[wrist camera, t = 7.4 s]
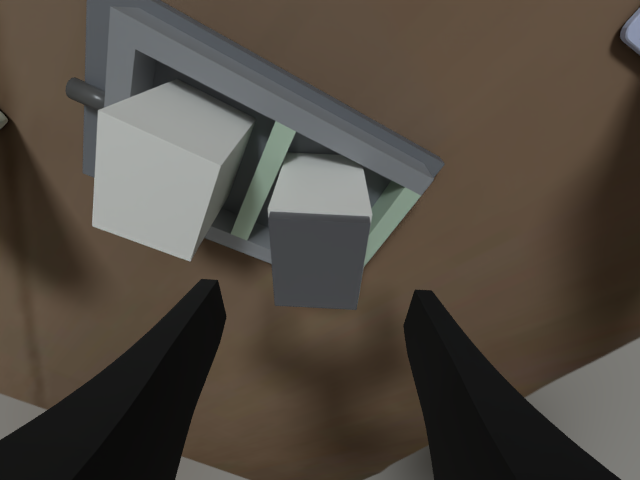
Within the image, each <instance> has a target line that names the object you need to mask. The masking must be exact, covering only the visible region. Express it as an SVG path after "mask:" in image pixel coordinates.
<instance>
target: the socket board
mask: <svg viewBox="0 0 640 480" xmlns="http://www.w3.org/2000/svg"><path fill="white" fill-rule="evenodd" d="M66 94H67V96H68V97H69V98H70V99H73V100H75V101H77V102H79V103H82V104H84V141H83V173H84V174H86V175H89V176H91V177H94V178H95V179H94V199H93V219H92V226H93V227H96V228H99V229H102V230H104V231H107V232H110V233H113V234H115V235H118V236H121V237H124V238H127V239H129V240H132V241H135V242H138V243H140V244H143V245H146V246H149V247H151V248H154V249H157V250H160V251H162V252H165V253H168V254H171V255H173V256H176V257H179V258H182V259H184V260H187V261H191V259H192V258H193V256H194V254H195V253H196V251H197V249H198V247H199V246H200V244H201V242H202V241H203V239H204V238H206V239H208V240H211V241H214V242H216V243H219V244H221V245H224V246H226V247H229V248H232V249H234V250H237V251H239V252H242V253H245V254H247V255H250V256H252V257H255V258H258V259H260V260H263V261H265V262H268V263H271V264H272V262H271V249H270V236H269V223H268V206H269V203H270V201H271V198H272V195H273V192H274V189H275V186H276V183H277V180H278V177H279V174H280V171H281V168H282V165H283V162H284V159H285V156H286V153H287V152H292V153H312V154H332V155H343V156H345V157H347V158H349V159H351V160H353V161H355V162H357V163H359V164H361V165H363V170H364V175H365V180H366V185H367V190H368V195H369V200H370V205H371V210H372V220H371V226H370V232H369V238H368V244H367V250H366V256H365V262H364V266H365V265H366V264H367V263H368V261H369V260H370V259H371V258H372V256H373V255H374V254H375V253H376V251H377V250H378V249H379V248H380V246H381V245H382V244H383V243H384V241H385V240H386V239H387V238H388V236H389V235H390V234H391V233H392V231H393V230H394V229H395V228H396V226H397V225H398V224H399V223H400V221H401V220H402V219H403V218H404V216H405V215H406V214H407V213H408V211H409V210H410V209H411V208H412V206H413V205H414V204H415V203H416V201H417V200H418V199H419V198H420V196H421V195H422V194H423V193H424V191H425V190H426V189H427V188H428V186H429V185H430V184H431V183H432V181H433V180H434V179H433V178H434V177H435V176H436V174H437V173H438V172H439V171H440V169H441V168H442V167H443V166H444V162H443V161H442V160H441V158H440V157H439V156H437V155H435V154H433V153H431V152H430V151H428V150H426V149H424V148H422V147H421V146H419V145H417V144H415V143H414V142H412V141H410V140H408V139H406V138H405V137H403V136H401V135H399V134H398V133H396V132H394V131H392V130H390V129H389V128H387V127H385V126H383V125H381V124H380V123H378V122H376V121H374V120H373V119H371V118H369V117H367V116H365V115H364V114H362V113H360V112H358V111H357V110H355V109H353V108H351V107H349V106H348V105H346V104H344V103H342V102H340V101H339V100H337V99H335V98H333V97H332V96H330V95H328V94H326V93H324V92H323V91H321V90H319V89H317V88H315V87H314V86H312V85H310V84H308V83H307V82H305V81H303V80H301V79H299V78H298V77H296V76H294V75H292V74H291V73H289V72H287V71H285V70H283V69H282V68H280V67H278V66H276V65H274V64H273V63H271V62H269V61H267V60H266V59H264V58H262V57H260V56H258V55H257V54H255V53H253V52H251V51H250V50H248V49H246V48H244V47H242V46H241V45H239V44H237V43H235V42H233V41H232V40H230V39H228V38H226V37H225V36H223V35H221V34H219V33H217V32H216V31H214V30H212V29H210V28H209V27H207V26H205V25H203V24H201V23H200V22H198V21H196V20H194V19H192V18H191V17H189V16H187V15H185V14H184V13H182V12H180V11H178V10H176V9H175V8H173V7H171V6H169V5H168V4H166V3H164V2H162V1H160V0H87V16H86V58H85V82H84V81H82V80H80V79H78V78H75V77H74V78H71V79H70V80H69V81H68V83H67V85H66Z"/></svg>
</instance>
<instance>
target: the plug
mask: <svg viewBox="0 0 640 480" xmlns="http://www.w3.org/2000/svg"><path fill="white" fill-rule="evenodd" d="M371 220H372V210H371V205H370V200H369V195H368V190H367V185H366V180H365V175H364V170H363V165H361V164H359V163H357V162H355V161H353V160H351V159H349V158H347V157H345V156H343V155H332V154H312V153H292V152H287V153H286V156H285V159H284V162H283V165H282V168H281V171H280V174H279V177H278V180H277V183H276V186H275V189H274V192H273V195H272V198H271V201H270V203H269V206H268V223H269V236H270V249H271V262H272V275H273V288H274V301H275V306H293V307H313V308H332V309H351V310H356V309H357V303H358V298H359V292H360V286H361V280H362V274H363V268H364V262H365V256H366V250H367V244H368V238H369V232H370V226H371Z"/></svg>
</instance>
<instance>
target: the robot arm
mask: <svg viewBox="0 0 640 480" xmlns="http://www.w3.org/2000/svg"><path fill="white" fill-rule="evenodd" d="M620 38H621V40H622V41H623V42H624V43H625V44H627V45H628V46H629V47H630V48H631V49H633V50H634V51H635V52H636V53H637V54H639V55H640V8H639V9H638V10H637V11H636V12H635V13H634V14H633V15H632V16H631V18H630V19H629V20H628V21H627V22H626V23H625V25H624V26H623V27H622V30H621V32H620ZM225 320H226V313H225V308H224V304H223V300H222V295H221V291H220V287H219V283H218V280H208V279H201V280H200V281H199V282H198V283H197V284H196V285H195V286H194V287H193V288H192V289H191V290H190V291H189V292H188V293H187V294H186V295H185V296H184V297H183V298H182V299H181V300H180V301H179V302H178V303H177V304H176V305H175V306H174V307H173V308H172V309H171V310H170V311H169V312H168V313H167V314H166V315H165V316H164V317H163V318H162V319H161V320H160V321H159V322H158V323H157V324H156V325H155V326H154V327H153V328H152V329H151V330H150V331H149V332H147V333H146V334H145V335H144V336H143V337H142V338H141V339H140V340H139V341H137V342H136V343H135V344H134V345H133V346H132V347H131V348H130V349H128V350H127V351H126V352H125V353H124V354H122V355H121V356H120V357H119V358H118V359H116V360H115V361H114V362H113V363H112V364H110V365H109V366H108V367H106V368H105V369H104V370H103V371H101V372H100V373H99V374H98V375H96V376H95V377H94V378H92V379H91V380H90V381H88V382H87V383H85V384H84V385H83V386H81V387H80V388H79V389H77V390H76V391H74V392H73V393H71V394H70V395H69V396H67V397H66V398H64V399H63V400H62V401H60V402H59V403H57V404H56V405H54V406H53V407H51V408H50V409H48V410H47V411H45V412H44V413H42V414H41V415H39V416H38V417H36V418H35V419H33V420H32V421H30V422H28V423H27V424H25V425H24V426H22V427H20V428H19V429H17V430H16V431H14V432H13V433H11V434H9V435H8V436H6V437H4V438H3V439H1V440H0V480H175V478H176V474H177V470H178V466H179V463H180V458H181V455H182V451H183V448H184V444H185V440H186V437H187V433H188V430H189V426H190V423H191V419H192V416H193V413H194V410H195V407H196V404H197V401H198V399H199V396H200V393H201V391H202V388H203V386H204V383H205V381H206V378H207V375H208V373H209V370H210V368H211V365H212V362H213V360H214V357H215V354H216V352H217V349H218V346H219V344H220V340H221V337H222V333H223V329H224V325H225ZM404 333H405V341H406V348H407V354H408V358H409V362H410V366H411V370H412V374H413V377H414V381H415V385H416V389H417V393H418V397H419V400H420V404H421V408H422V412H423V416H424V421H425V425H426V430H427V436H428V442H429V448H430V454H431V460H432V467H433V474H434V480H621V479H620V478H618V477H617V476H616V475H614V474H613V473H612V472H610V471H609V470H608V469H607V468H605V467H604V466H603V465H602V464H600V463H599V462H598V461H597V460H595V459H594V458H593V457H592V456H590V455H589V454H588V453H587V452H585V451H584V450H583V449H582V448H580V447H579V446H578V445H577V444H576V443H574V442H573V441H572V440H571V439H570V438H568V437H567V436H566V435H565V434H564V433H563V432H561V431H560V430H559V429H558V428H557V427H556V426H555V425H553V424H552V423H551V422H550V421H549V420H548V419H547V418H545V417H544V416H543V415H542V414H541V413H540V412H539V411H538V410H536V409H535V408H534V407H533V406H532V405H531V404H530V403H529V402H528V401H527V400H526V399H525V398H524V397H523V396H522V395H521V394H520V393H519V392H518V391H517V390H516V389H515V388H514V387H513V386H512V385H511V384H510V383H509V382H508V381H507V380H506V379H505V378H504V377H503V376H502V375H501V374H500V373H499V372H498V371H497V370H496V369H495V368H494V367H493V365H492V364H491V363H490V362H489V361H488V360H487V359H486V358H485V357H484V355H483V354H482V353H481V352H480V351H479V350H478V348H477V347H476V346H475V345H474V344H473V343H472V341H471V340H470V339H469V338H468V336H467V335H466V334H465V333H464V332H463V330H462V329H461V328H460V327H459V325H458V324H457V323H456V322H455V320H454V319H453V318H452V316H451V315H450V314H449V312H448V311H447V310H446V309H445V307H444V306H443V305H442V303H441V302H440V301H439V299H438V298H437V297H436V295H435V294H434V293H433V292H432V291H430V290H415V291H414V294H413V297H412V300H411V303H410V307H409V310H408V313H407V316H406V319H405V322H404Z"/></svg>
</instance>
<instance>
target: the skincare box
mask: <svg viewBox="0 0 640 480" xmlns="http://www.w3.org/2000/svg"><path fill="white" fill-rule="evenodd" d="M7 122H8V119H7V118H6V116H5V115H4V114H3V113H2V112H1V111H0V129H1V128H2V127H3V126H4V125H5V124H6V123H7Z"/></svg>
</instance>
